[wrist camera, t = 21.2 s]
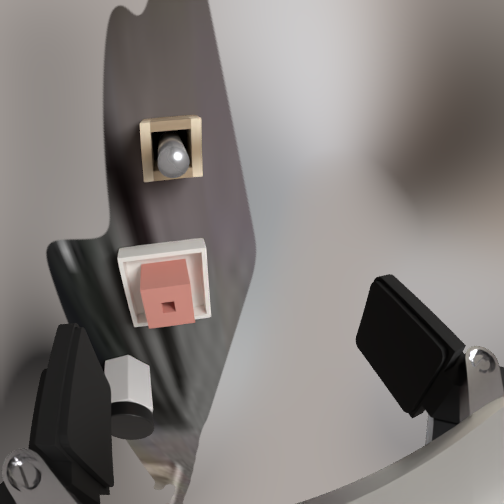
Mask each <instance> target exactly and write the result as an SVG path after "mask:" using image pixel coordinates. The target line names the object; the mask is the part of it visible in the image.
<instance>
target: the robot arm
mask: <svg viewBox="0 0 504 504" xmlns="http://www.w3.org/2000/svg"><path fill="white" fill-rule="evenodd" d="M356 344H357V347H358V348H359V350H360V351H361V352H362V354H363V355H364V356H365V358H366V359H367V361H368V362H369V363H370V365H371V366H372V368H373V369H374V370H375V372H376V373H377V374H378V376H379V377H380V379H381V380H382V381H383V382H384V384H385V386H386V387H387V388H388V390H389V391H390V393H391V394H392V395H393V397H394V398H395V399H396V401H397V402H398V404H399V405H400V407H401V408H402V409H403V411H404V412H406V413H409V415H410V416H411V417H412V418H414V417H416V416H418V415H419V414H421V413H423V411H424V410H426V411H427V412H428V421H427V432H426V443H425V446H423V447H422V448H420V449H418V450H417V451H415V452H413V453H411V454H410V455H408V456H406V457H404V458H402V459H400V460H399V461H397V462H395V463H393V464H391V465H389V466H387V467H385V468H383V469H381V470H379V471H377V472H375V473H373V474H371V475H369V476H367V477H364V478H362V479H360V480H358V481H355V482H353V483H351V484H348V485H346V486H343V487H341V488H339V489H336V490H333V491H331V492H328V493H326V494H323V495H320V496H318V497H315V498H312V499H309V500H306V501H303V502H300V503H297V504H504V367H500V366H499V363H498V360H497V358H496V357H495V355H494V354H493V353H492V352H491V351H489V350H487V349H486V348H483V347H480V346H474V347H471V348H469V349H468V350H467V352H466V353H465V354H464V353H463V350H464V348H465V346H466V345H464V343H463V342H462V341H461V340H460V339H459V338H458V337H457V336H456V335H455V334H454V333H453V332H452V331H451V330H450V329H449V328H448V327H447V326H446V325H445V324H444V323H443V322H442V321H441V320H440V319H439V318H438V317H437V316H436V315H435V314H434V313H433V312H432V311H430V309H429V308H428V307H426V306H425V305H424V304H423V303H422V302H421V301H420V300H419V299H418V298H417V297H416V296H415V295H414V294H413V293H412V292H411V291H410V290H408V289H407V288H406V287H405V286H404V285H403V284H402V283H401V282H400V281H399V280H398V279H397V278H395V277H394V276H393V275H390V274H389V275H384V276H380V277H377V278H376V279H375V280H374V282H373V283H372V284H371V286H370V291H369V294H368V298H367V302H366V305H365V309H364V312H363V316H362V319H361V323H360V326H359V329H358V333H357V336H356ZM2 476H3V480H4V481H3V482H2V483H1V484H0V504H100V495H109V494H110V493H109V492H110V491H109V487H113V485H114V476H113V462H112V439H111V388H110V384H109V382H108V380H107V378H106V376H105V374H104V372H103V370H102V367H101V365H100V363H99V361H98V359H97V356H96V354H95V352H94V349H93V347H92V345H91V342H90V340H89V338H88V335H87V333H86V330H85V329H84V328H83V327H82V328H80V327H79V325H78V324H77V323H72V324H60V325H59V326H58V328H57V332H56V336H55V340H54V343H53V347H52V351H51V356H50V360H49V364H48V368H47V369H44V370H43V372H42V374H41V378H40V382H39V387H38V392H37V397H36V402H35V408H34V414H33V420H32V426H31V433H30V441H29V449H25V448H22V449H17V450H15V451H13V452H11V453H10V454H9V455H8V456H7V457H6V459H5V461H4V463H3V468H2Z"/></svg>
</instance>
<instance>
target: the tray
mask: <svg viewBox="0 0 504 504" xmlns="http://www.w3.org/2000/svg"><path fill="white" fill-rule="evenodd" d="M117 259H118V264H119V269H120V273H121V277H122V282H123V286H124V290H125V294H126V298H127V302H128V306H129V309H130V313H131V317H132V320H133V324H134V327H141V326H148V322H147V318H146V314H145V310H144V305H143V301H142V297H141V292H140V278H141V264H147V263H155V262H163V261H171V260H179V259H186V264H187V269H188V274H189V279H190V284H191V293H192V301H193V309H194V317H195V319H201V318H207V317H211V309H210V296H209V283H208V269H207V253H206V246H205V243H204V239H203V238H197V239H188V240H180V241H172V242H163V243H155V244H147V245H139V246H132V247H124V248H119V252H118V258H117Z"/></svg>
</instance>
